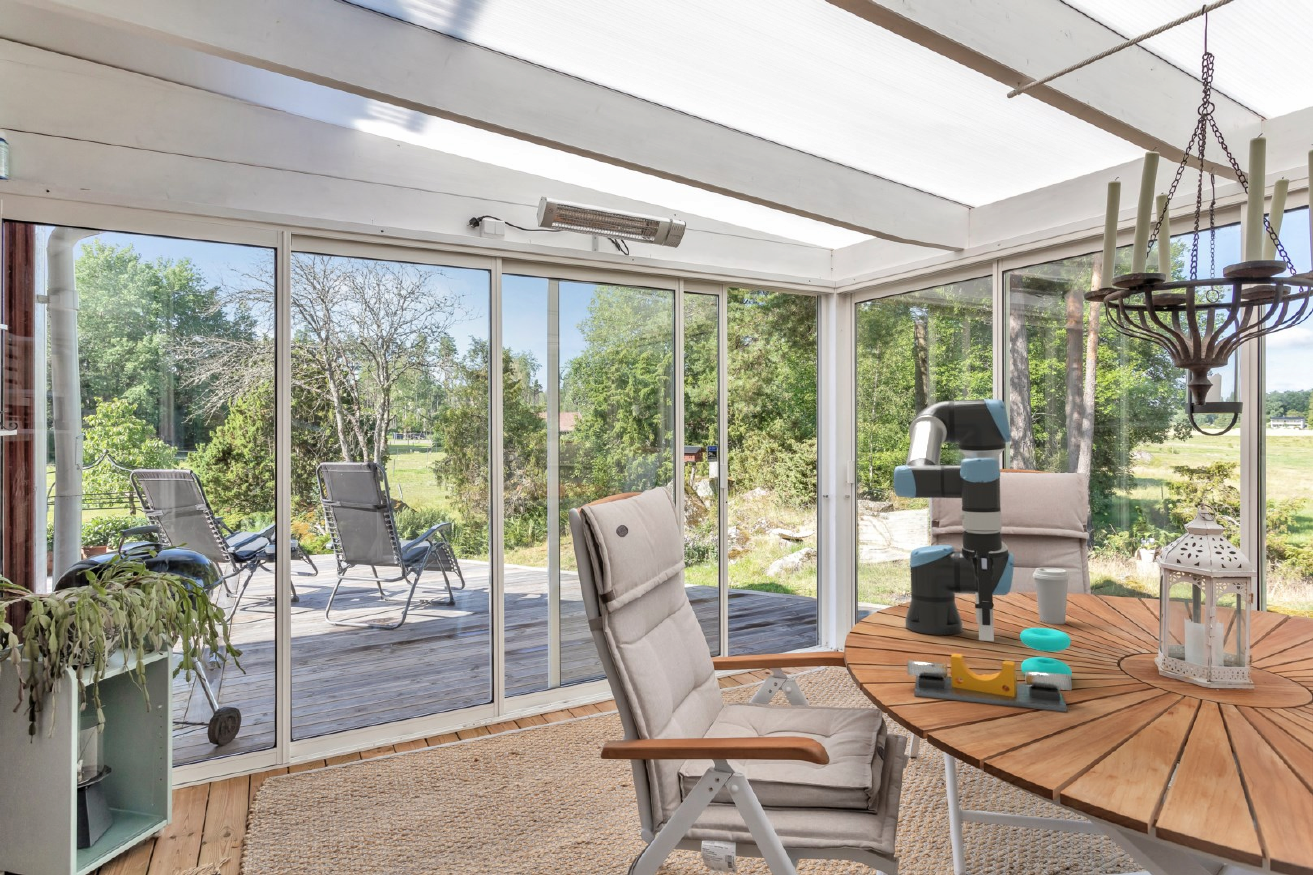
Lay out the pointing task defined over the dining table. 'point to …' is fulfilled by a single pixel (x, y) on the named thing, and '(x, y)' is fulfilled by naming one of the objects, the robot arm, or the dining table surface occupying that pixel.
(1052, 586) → the coffee cup
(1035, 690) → the shaft stand
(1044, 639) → the donuts
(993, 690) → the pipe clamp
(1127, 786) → the dining table surface
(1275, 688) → the dining table surface
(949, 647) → the dining table surface
